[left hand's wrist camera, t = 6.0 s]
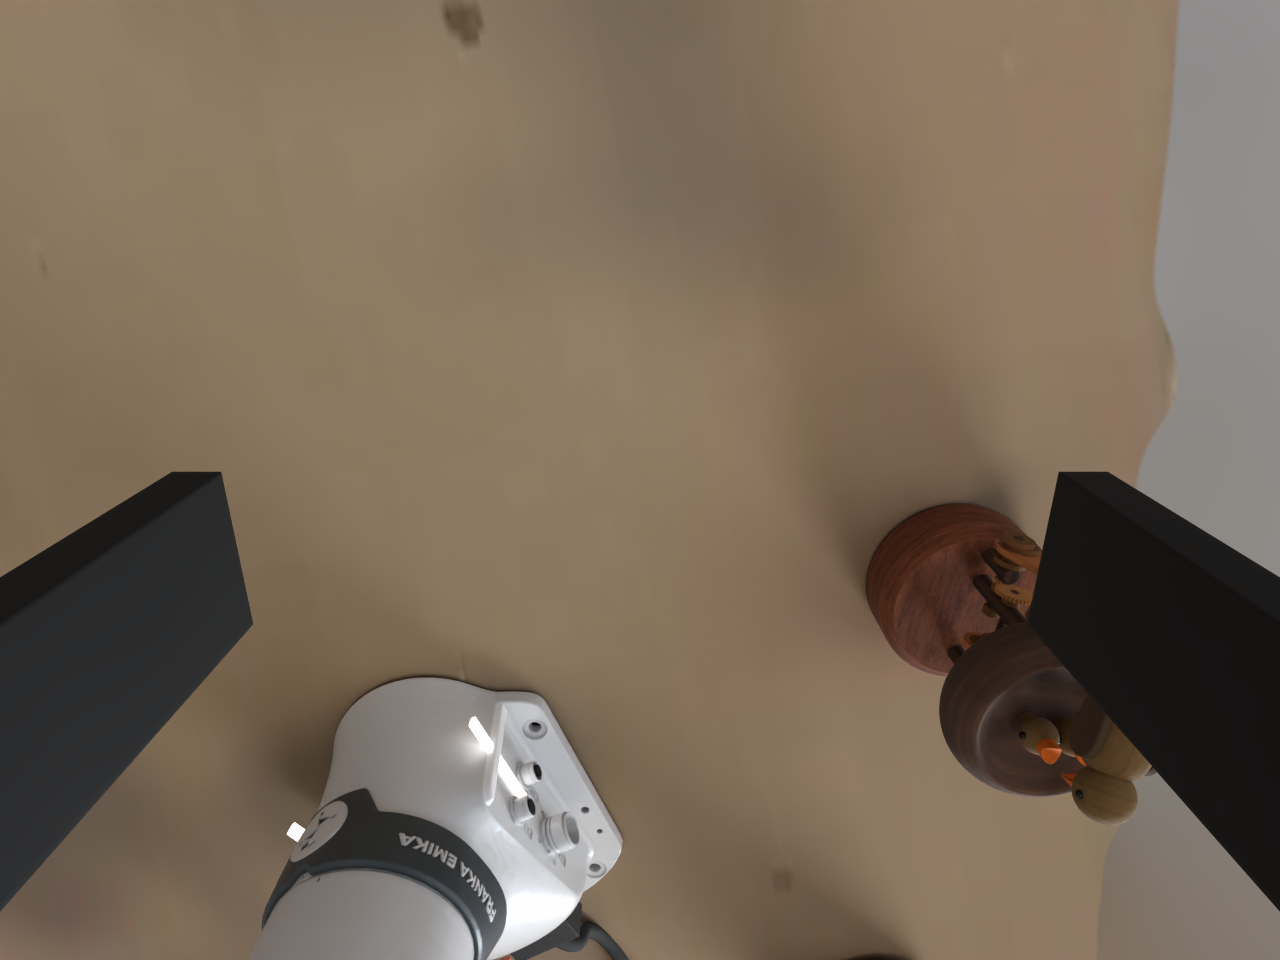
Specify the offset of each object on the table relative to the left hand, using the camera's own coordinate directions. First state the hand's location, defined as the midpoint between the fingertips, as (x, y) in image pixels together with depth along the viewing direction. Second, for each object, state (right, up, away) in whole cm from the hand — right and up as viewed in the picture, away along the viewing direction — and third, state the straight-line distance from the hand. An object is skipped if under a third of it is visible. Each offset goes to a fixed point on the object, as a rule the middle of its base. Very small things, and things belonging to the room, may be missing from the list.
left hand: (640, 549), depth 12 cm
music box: (+20, -6, +37) cm, 42 cm away
